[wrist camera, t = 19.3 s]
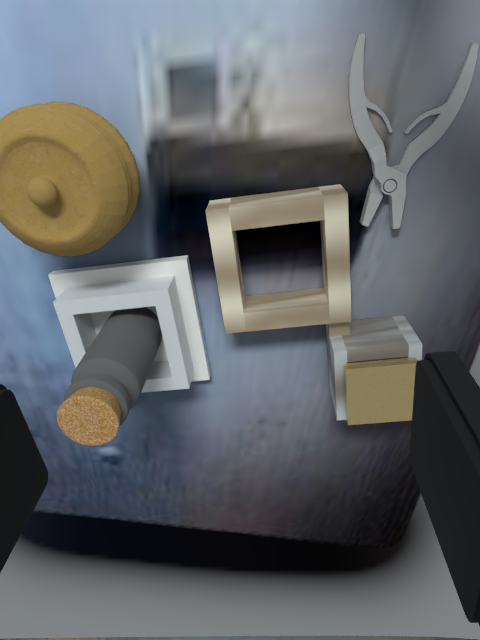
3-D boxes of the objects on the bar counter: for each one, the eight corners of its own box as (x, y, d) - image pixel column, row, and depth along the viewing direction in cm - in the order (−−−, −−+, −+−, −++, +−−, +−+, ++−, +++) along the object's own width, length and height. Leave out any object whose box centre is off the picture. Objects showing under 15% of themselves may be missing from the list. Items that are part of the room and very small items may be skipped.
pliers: (486, 42, 35) (434, 232, 42) (477, 44, 37) (428, 228, 44) (358, 32, 35) (327, 223, 42) (354, 34, 37) (324, 219, 44)
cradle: (52, 270, 47) (32, 289, 42) (188, 255, 45) (180, 272, 41) (90, 384, 53) (76, 410, 49) (210, 373, 51) (206, 399, 47)
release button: (336, 337, 47) (346, 369, 41) (400, 330, 46) (419, 362, 41) (338, 388, 50) (348, 425, 44) (399, 383, 49) (416, 419, 44)
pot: (128, 252, 45) (95, 292, 37) (10, 205, 44) (-54, 235, 35) (165, 135, 40) (138, 148, 31) (34, 76, 39) (-34, 73, 30)
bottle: (157, 300, 46) (115, 387, 33) (168, 350, 49) (134, 449, 36) (101, 306, 47) (38, 393, 33) (115, 355, 49) (61, 454, 36)
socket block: (210, 200, 43) (202, 216, 37) (408, 175, 41) (430, 188, 36) (240, 393, 53) (238, 428, 47) (402, 379, 51) (418, 414, 45)
